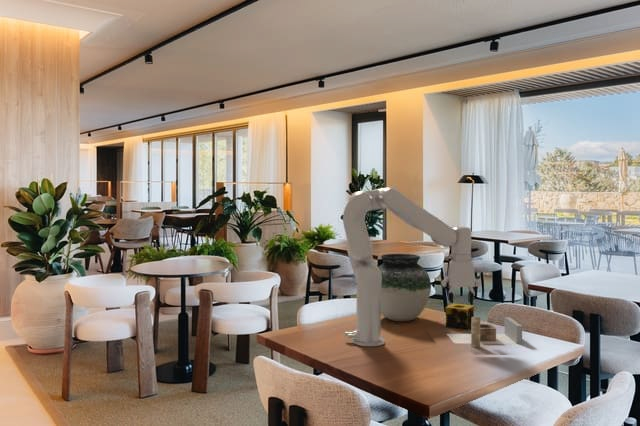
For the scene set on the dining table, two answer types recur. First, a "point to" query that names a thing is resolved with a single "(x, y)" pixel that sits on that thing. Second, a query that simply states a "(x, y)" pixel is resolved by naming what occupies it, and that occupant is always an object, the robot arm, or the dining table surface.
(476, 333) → the dowel
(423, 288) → the vase
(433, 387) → the dining table surface
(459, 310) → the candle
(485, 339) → the brown square wooden frame
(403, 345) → the dining table surface
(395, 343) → the dining table surface
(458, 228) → the robot arm
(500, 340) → the board
